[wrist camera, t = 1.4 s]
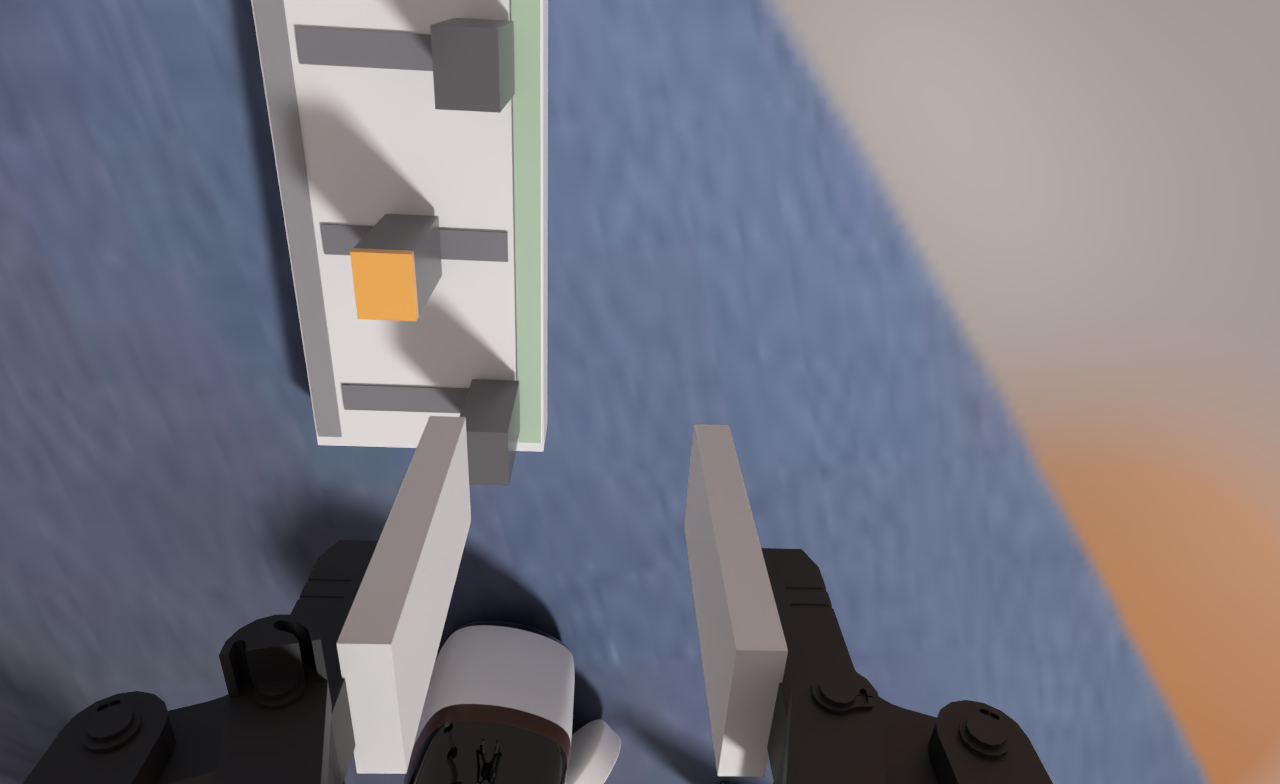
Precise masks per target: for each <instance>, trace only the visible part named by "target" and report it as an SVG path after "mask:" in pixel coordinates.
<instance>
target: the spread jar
mask: <svg viewBox="0 0 1280 784" xmlns="http://www.w3.org/2000/svg"><path fill="white" fill-rule="evenodd" d="M574 684H575V669H574V661H573V656H572V654H571V652H570V650H569V649H568V647H567V646H566V645H565V644H564V643H562V642H561V641H559V640H558V639H556V638H555V637H553V636H551V635H549V634H547V633H545V632H543V631H541V630H538V629H536V628H533V627H530V626H527V625H523V624H519V623H514V622H506V621H479V622H473V623H469V624H466V625H463V626H461V627H459V628H457V629H456V630H455V631H454V632H453V633H452V634H451V635H450V636H449V637H448V638H447V640H446V641H445V643H444V644H443V646H442V648H441V650H440V652H439V654H438V656H437V659H436V661H435V664H434V667H433V671H432V675H431V679H430V683H429V687H428V691H427V695H426V699H425V703H424V707H423V710H422V714H421V718H420V722H419V726H418V730H417V734H416V738H415V742H414V746H413V750H412V753H411V757H410V761H409V765H408V769H407V773H406V775H405V779H404V784H603V783H604V782H605V780H606V779H607V777H608V775H609V774H610V772H611V770H612V768H613V766H614V764H615V762H616V760H617V758H618V755H619V752H620V747H621V739H620V737H619V736H618V735H617V734H616V733H615V732H614V731H613V730H612V729H611V728H610V727H609V726H608V725H607V724H606V723H605V722H604V721H603V720H601V719H597V720H593V721H591V722H589V723H587V724H586V725H584V726H583V727H581V728H580V729H579V730H577V731H576V732H575V733H574V734H573V735H572V724H573V703H574Z"/></svg>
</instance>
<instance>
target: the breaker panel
mask: <svg viewBox="0 0 1280 784" xmlns="http://www.w3.org/2000/svg"><path fill="white" fill-rule="evenodd" d="M251 3H252V9H253V16H254V23H255V29H256V36H257V42H258V49H259V56H260V62H261V69H262V76H263V82H264V89H265V96H266V102H267V109H268V115H269V122H270V129H271V135H272V142H273V149H274V155H275V162H276V168H277V175H278V182H279V188H280V195H281V202H282V208H283V215H284V222H285V228H286V235H287V241H288V248H289V255H290V261H291V268H292V275H293V281H294V288H295V295H296V301H297V308H298V314H299V321H300V328H301V334H302V341H303V348H304V354H305V361H306V368H307V374H308V381H309V387H310V394H311V401H312V407H313V414H314V421H315V427H316V434H317V440H318V445H337V446H371V447H405V448H417V446H418V443H419V441H420V438H421V436H422V434H423V431H424V429H425V426H426V424H427V421H428V419H429V417H430V416H448V417H459V416H460V413H461V410H462V407H463V404H464V402H465V399H466V396H467V393H468V390H469V387H470V384H471V381H472V379H481V380H510V381H519V391H520V432H519V437H518V442H517V448H516V451H541V452H543V451H544V444H545V436H546V429H547V298H548V0H251ZM453 18H470V19H487V20H504V21H514V73H515V94H514V96H513V97H512V98H511V99H510V101H509V102H508V103H507V104H506V106H505V107H504V108H503V109H502V111H501V112H500V113H498V112H479V111H460V110H441V109H435V96H434V80H433V63H432V46H431V29H430V25H431V24H434V23H438V22H442V21H445V20H449V19H453ZM385 214H406V215H428V216H439V232H440V249H441V265H442V276H441V278H440V280H439V282H438V284H437V285H436V287H435V289H434V291H433V293H432V294H431V296H430V298H429V300H428V301H427V303H426V305H425V307H424V309H423V310H422V312H421V314H420V316H419V318H418V319H417V321H394V320H367V319H358V318H357V309H356V301H355V292H354V283H353V274H352V266H351V257H350V251H351V250H352V249H353V248H354V247H355V246H356V245H357V244H358V243H359V242H360V241H361V240H362V238H363V237H364V236H365V235H366V234H367V233H368V232H369V231H370V230H371V229H372V228H373V227H374V226H375V225H376V224H377V223H378V221H379V220H380V219H381V218H382V217H383V216H384V215H385Z"/></svg>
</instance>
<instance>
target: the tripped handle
mask: <svg viewBox="0 0 1280 784" xmlns="http://www.w3.org/2000/svg"><path fill="white" fill-rule="evenodd" d="M350 257H351V266H352V274H353V283H354V292H355V301H356V309H357V318H358V319H367V320H394V321H417V319H418V318H419V316H420V314H421V312H422V310H423V309H424V307H425V305H426V303H427V301H428V300H429V298H430V296H431V294H432V293H433V291H434V289H435V287H436V285H437V284H438V282H439V280H440V278H441V276H442V265H441V249H440V232H439V216H428V215H406V214H385V215H384V216H383V217H382V218H381V219H380V220H379V221H378V223H377V224H376V225H375V226H374V227H373V228H372V229H371V230H370V231H369V232H368V233H367V234H366V235H365V236H364V237H363V238H362V240H361V241H360V242H359V243H358V244H357V245H356V246H355V247H354V248H353V249H352V250H351V251H350Z"/></svg>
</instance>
